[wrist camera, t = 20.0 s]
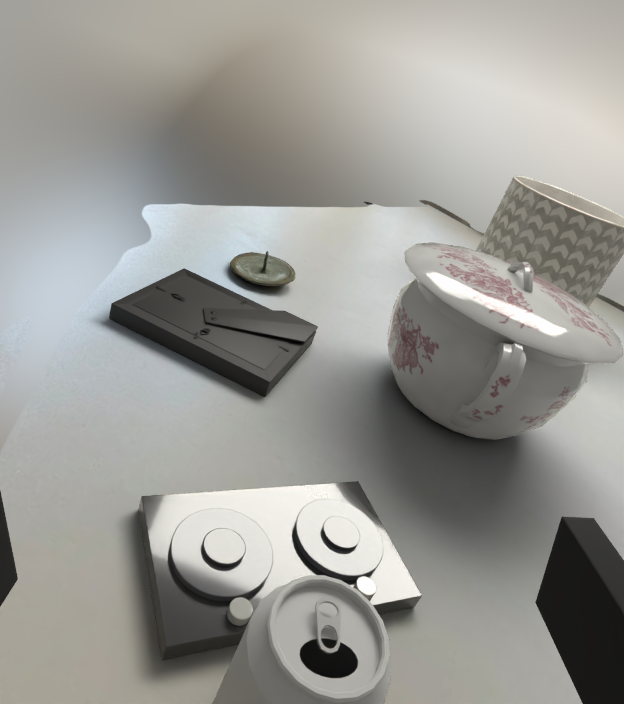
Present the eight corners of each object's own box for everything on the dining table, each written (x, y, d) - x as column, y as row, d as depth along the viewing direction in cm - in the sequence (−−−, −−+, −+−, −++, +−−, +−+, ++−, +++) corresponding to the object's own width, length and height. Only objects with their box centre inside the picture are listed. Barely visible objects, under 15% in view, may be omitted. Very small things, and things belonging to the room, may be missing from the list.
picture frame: (311, 344, 74) (181, 281, 77) (318, 326, 73) (185, 263, 76) (264, 397, 60) (109, 318, 63) (272, 376, 59) (112, 297, 62)
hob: (138, 509, 43) (143, 487, 41) (352, 492, 52) (361, 473, 51) (161, 660, 34) (169, 638, 33) (414, 607, 43) (427, 588, 42)
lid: (298, 296, 89) (311, 268, 88) (267, 293, 80) (280, 262, 79) (250, 269, 93) (261, 242, 92) (215, 264, 84) (226, 234, 83)
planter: (583, 326, 120) (649, 226, 108) (550, 350, 101) (626, 232, 89) (486, 273, 131) (537, 177, 119) (440, 285, 112) (495, 172, 101)
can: (193, 823, 28) (253, 707, 22) (207, 672, 34) (257, 551, 28) (330, 828, 29) (420, 722, 24) (319, 683, 36) (388, 571, 30)
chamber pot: (445, 338, 90) (506, 222, 80) (585, 452, 73) (684, 323, 63) (313, 349, 73) (369, 203, 63) (456, 502, 56) (565, 336, 46)
